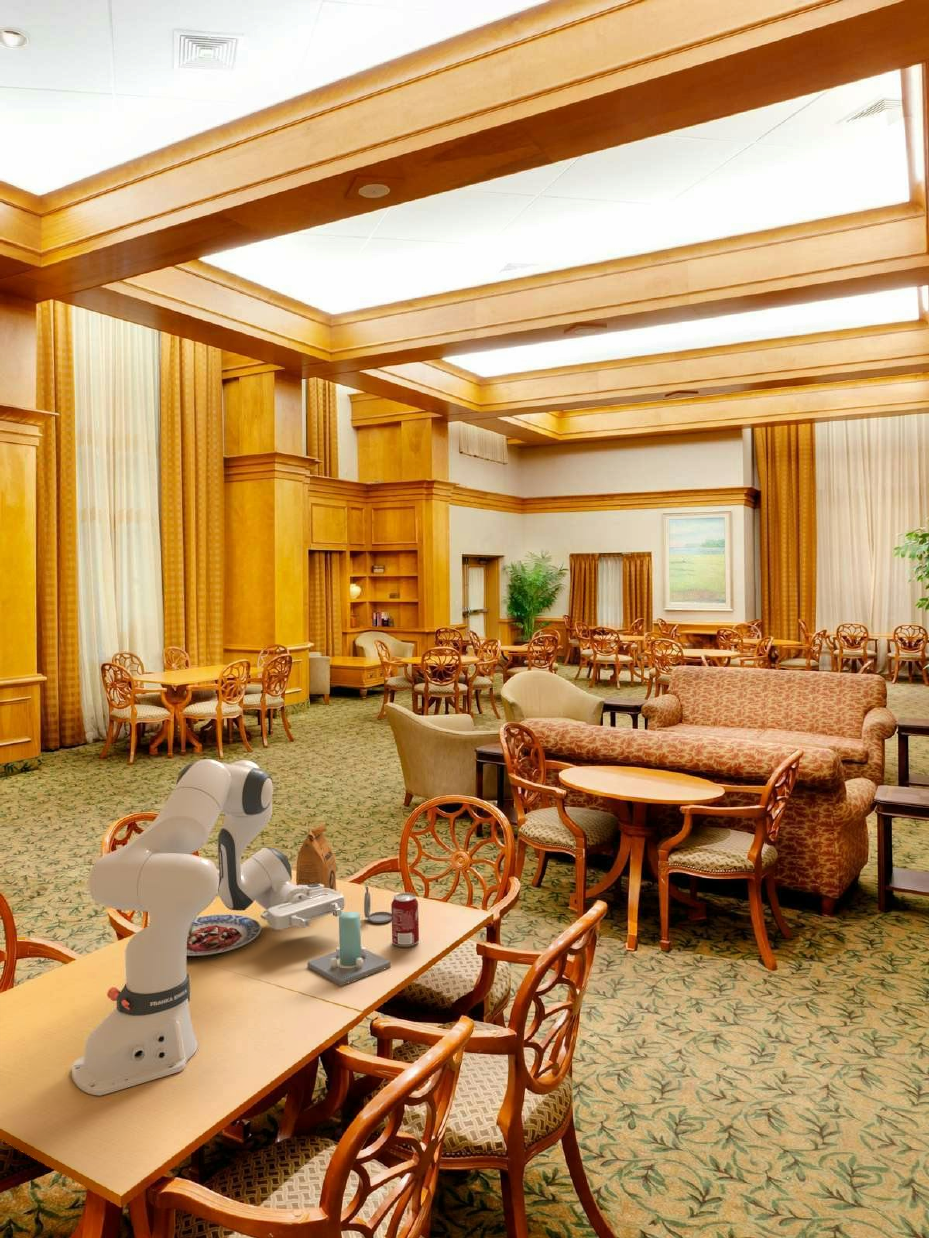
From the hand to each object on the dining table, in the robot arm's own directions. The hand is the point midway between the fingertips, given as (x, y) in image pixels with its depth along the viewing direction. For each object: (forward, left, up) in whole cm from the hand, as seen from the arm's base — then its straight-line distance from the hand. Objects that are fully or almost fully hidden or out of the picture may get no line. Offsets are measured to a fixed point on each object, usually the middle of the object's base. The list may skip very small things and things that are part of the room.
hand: (323, 918), depth 207 cm
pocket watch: (+22, +8, -9) cm, 25 cm away
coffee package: (+17, +29, -9) cm, 35 cm away
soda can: (+18, -10, -9) cm, 22 cm away
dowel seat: (0, -11, -9) cm, 14 cm away
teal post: (0, -11, -7) cm, 14 cm away
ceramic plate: (-17, +28, -9) cm, 34 cm away
